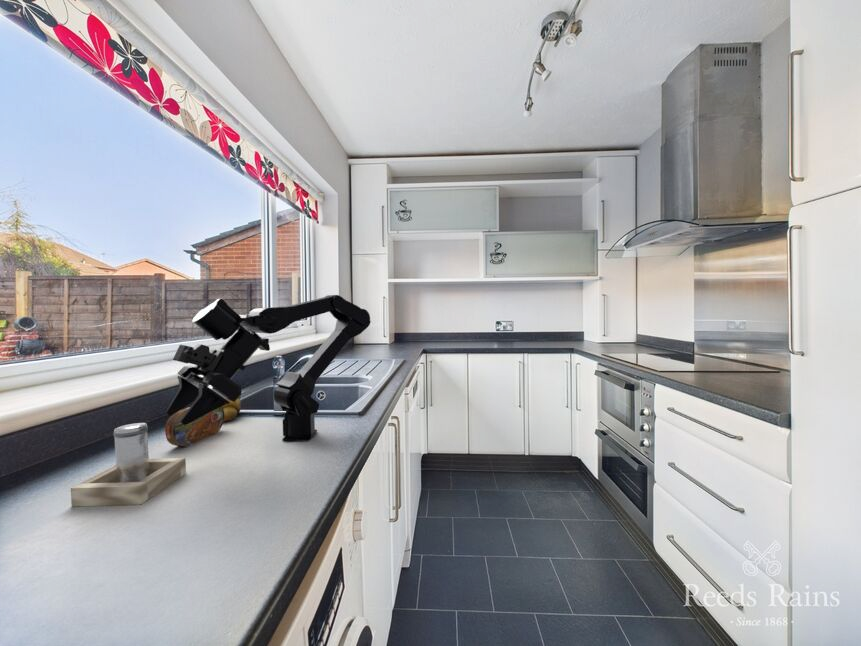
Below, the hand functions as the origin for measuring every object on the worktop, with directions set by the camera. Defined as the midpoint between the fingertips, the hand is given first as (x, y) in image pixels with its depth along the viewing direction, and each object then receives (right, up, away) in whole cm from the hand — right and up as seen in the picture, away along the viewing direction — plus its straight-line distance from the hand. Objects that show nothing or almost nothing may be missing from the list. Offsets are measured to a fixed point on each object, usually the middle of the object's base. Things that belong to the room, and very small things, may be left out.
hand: (174, 419), depth 68 cm
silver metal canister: (-4, -11, -5) cm, 13 cm away
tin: (-8, -10, +19) cm, 23 cm away
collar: (-4, -11, -5) cm, 13 cm away
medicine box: (+4, -9, +42) cm, 43 cm away
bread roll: (-12, -10, +37) cm, 40 cm away
